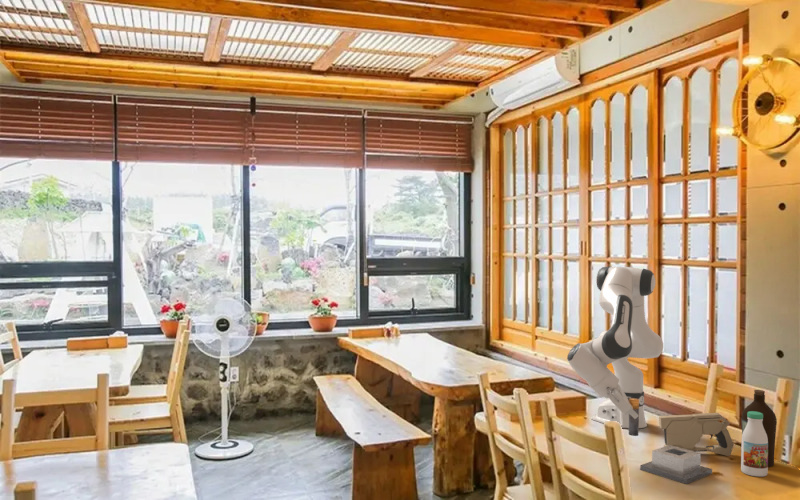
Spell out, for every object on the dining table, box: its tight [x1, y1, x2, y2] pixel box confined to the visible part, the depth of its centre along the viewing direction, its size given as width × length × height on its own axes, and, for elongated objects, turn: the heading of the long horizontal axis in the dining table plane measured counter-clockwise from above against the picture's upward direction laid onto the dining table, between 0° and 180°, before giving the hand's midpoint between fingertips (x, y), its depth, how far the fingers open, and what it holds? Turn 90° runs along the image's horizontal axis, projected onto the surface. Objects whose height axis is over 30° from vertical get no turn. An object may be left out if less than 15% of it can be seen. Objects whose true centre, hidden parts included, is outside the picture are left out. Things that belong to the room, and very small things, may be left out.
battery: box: [628, 398, 640, 437], centre depth 219 cm, size 3×3×12 cm
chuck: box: [639, 445, 713, 485], centre depth 213 cm, size 16×16×6 cm
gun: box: [658, 412, 734, 457], centre depth 232 cm, size 24×3×15 cm, turn 84°
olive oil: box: [741, 389, 778, 468], centre depth 223 cm, size 11×11×25 cm
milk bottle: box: [740, 411, 769, 477], centre depth 213 cm, size 8×8×20 cm
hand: (635, 415), depth 219 cm, fingers closed on battery, 3 cm apart
